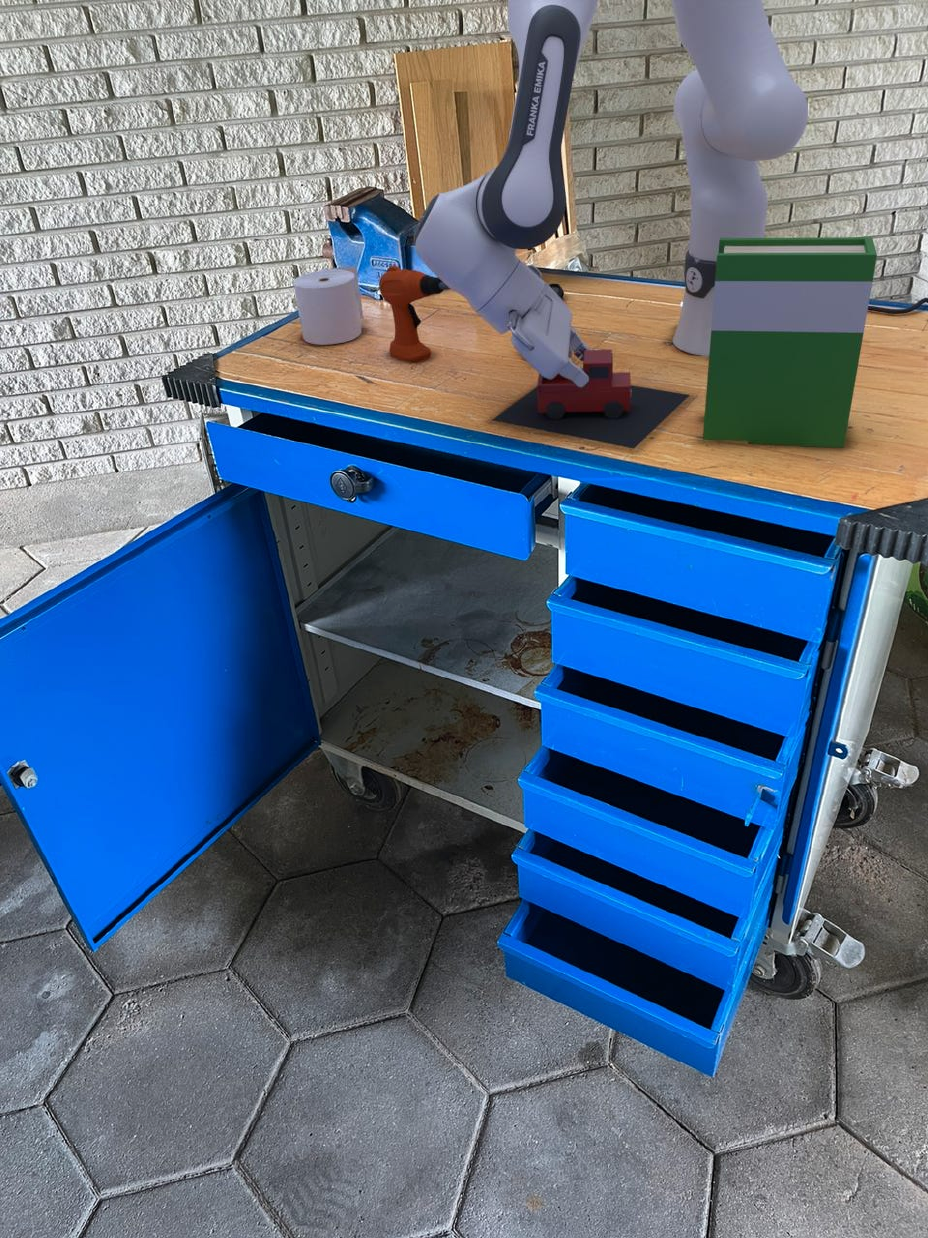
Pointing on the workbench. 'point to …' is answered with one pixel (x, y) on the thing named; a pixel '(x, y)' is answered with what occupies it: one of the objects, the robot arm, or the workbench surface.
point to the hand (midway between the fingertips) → (586, 368)
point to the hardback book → (787, 338)
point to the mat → (600, 417)
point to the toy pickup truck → (587, 389)
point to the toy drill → (408, 309)
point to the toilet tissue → (329, 305)
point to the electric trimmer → (557, 289)
